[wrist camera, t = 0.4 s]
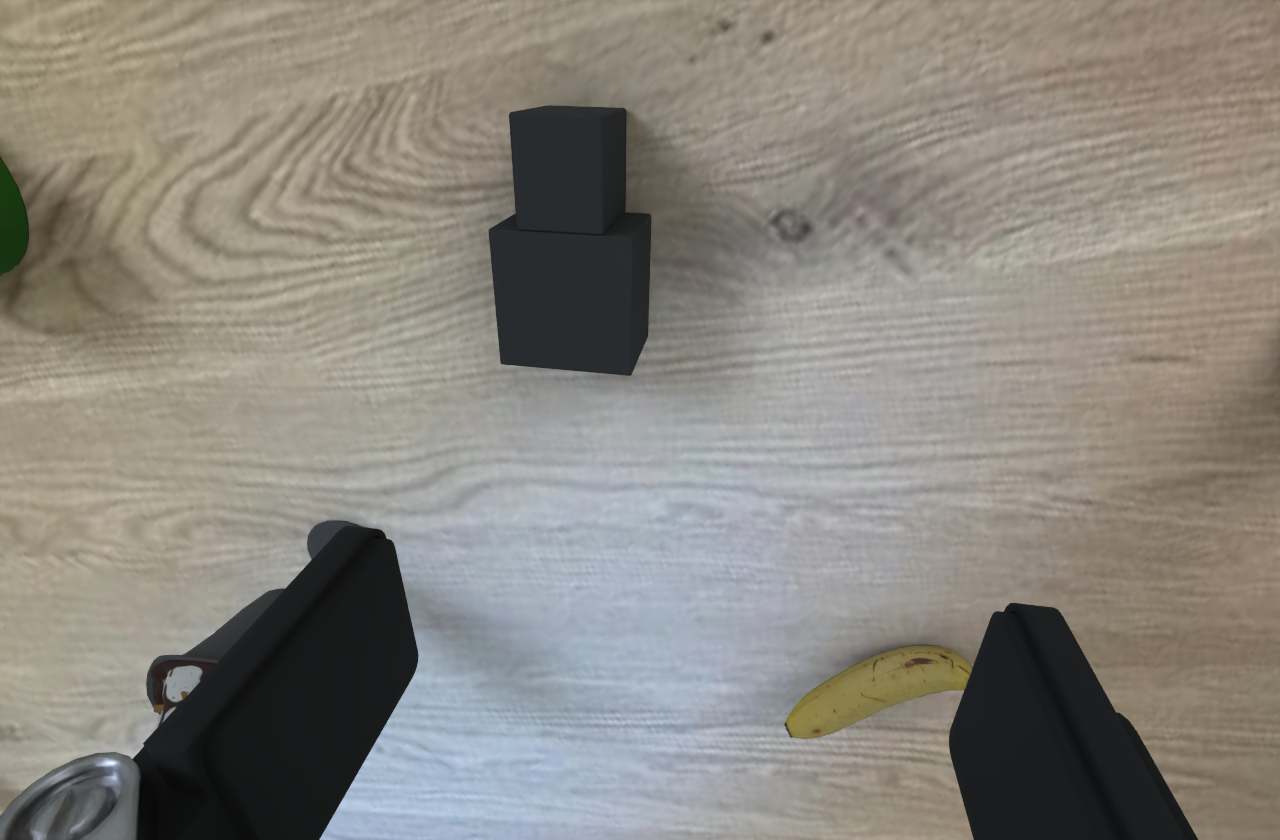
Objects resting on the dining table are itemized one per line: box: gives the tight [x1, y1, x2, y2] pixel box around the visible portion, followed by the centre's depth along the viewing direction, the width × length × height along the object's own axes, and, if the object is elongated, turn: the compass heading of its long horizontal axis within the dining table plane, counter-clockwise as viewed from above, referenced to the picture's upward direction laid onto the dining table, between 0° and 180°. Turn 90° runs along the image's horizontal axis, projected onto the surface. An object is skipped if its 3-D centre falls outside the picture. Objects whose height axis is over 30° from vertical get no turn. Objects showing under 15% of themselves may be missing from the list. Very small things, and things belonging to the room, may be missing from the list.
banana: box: [785, 645, 973, 739], centre depth 32 cm, size 10×2×4 cm, turn 114°
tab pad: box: [489, 106, 651, 376], centre depth 24 cm, size 9×5×4 cm, turn 179°
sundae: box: [146, 521, 360, 728], centre depth 30 cm, size 7×7×15 cm
